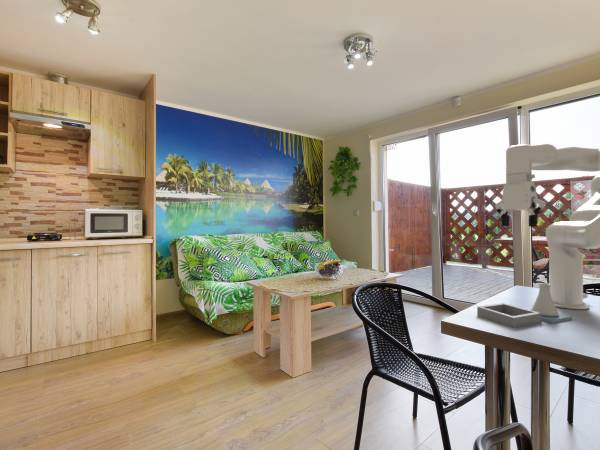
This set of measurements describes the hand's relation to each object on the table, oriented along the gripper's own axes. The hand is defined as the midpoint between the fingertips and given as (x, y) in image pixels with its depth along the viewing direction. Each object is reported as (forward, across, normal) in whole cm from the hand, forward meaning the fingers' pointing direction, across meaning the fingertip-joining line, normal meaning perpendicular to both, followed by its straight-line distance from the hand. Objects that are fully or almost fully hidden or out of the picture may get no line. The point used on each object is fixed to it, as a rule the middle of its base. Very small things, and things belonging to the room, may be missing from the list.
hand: (518, 226), depth 109 cm
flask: (+30, -10, +2) cm, 31 cm away
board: (+30, -10, +2) cm, 32 cm away
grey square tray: (+30, -7, +15) cm, 34 cm away
